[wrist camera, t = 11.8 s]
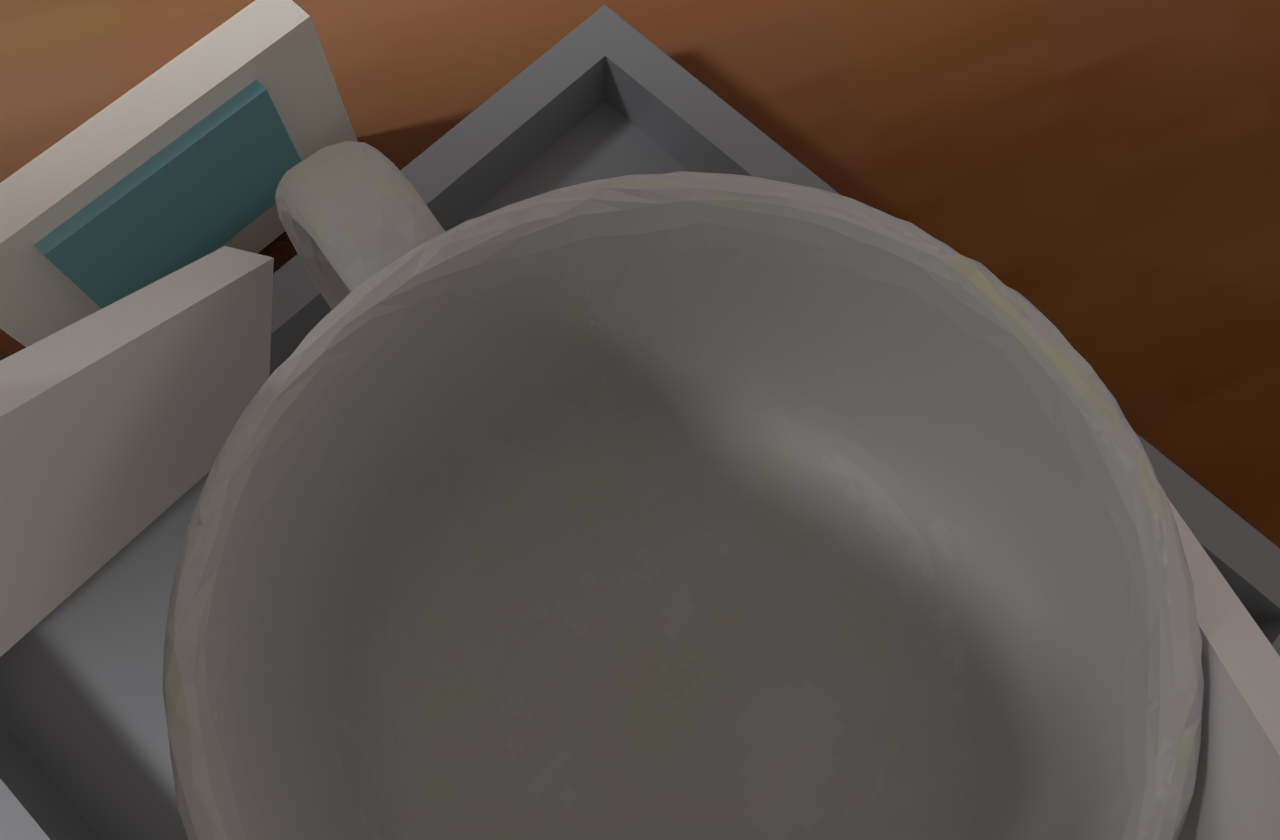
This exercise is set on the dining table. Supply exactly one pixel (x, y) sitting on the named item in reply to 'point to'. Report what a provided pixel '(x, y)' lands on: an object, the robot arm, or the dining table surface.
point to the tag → (167, 171)
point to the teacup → (674, 539)
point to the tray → (454, 193)
